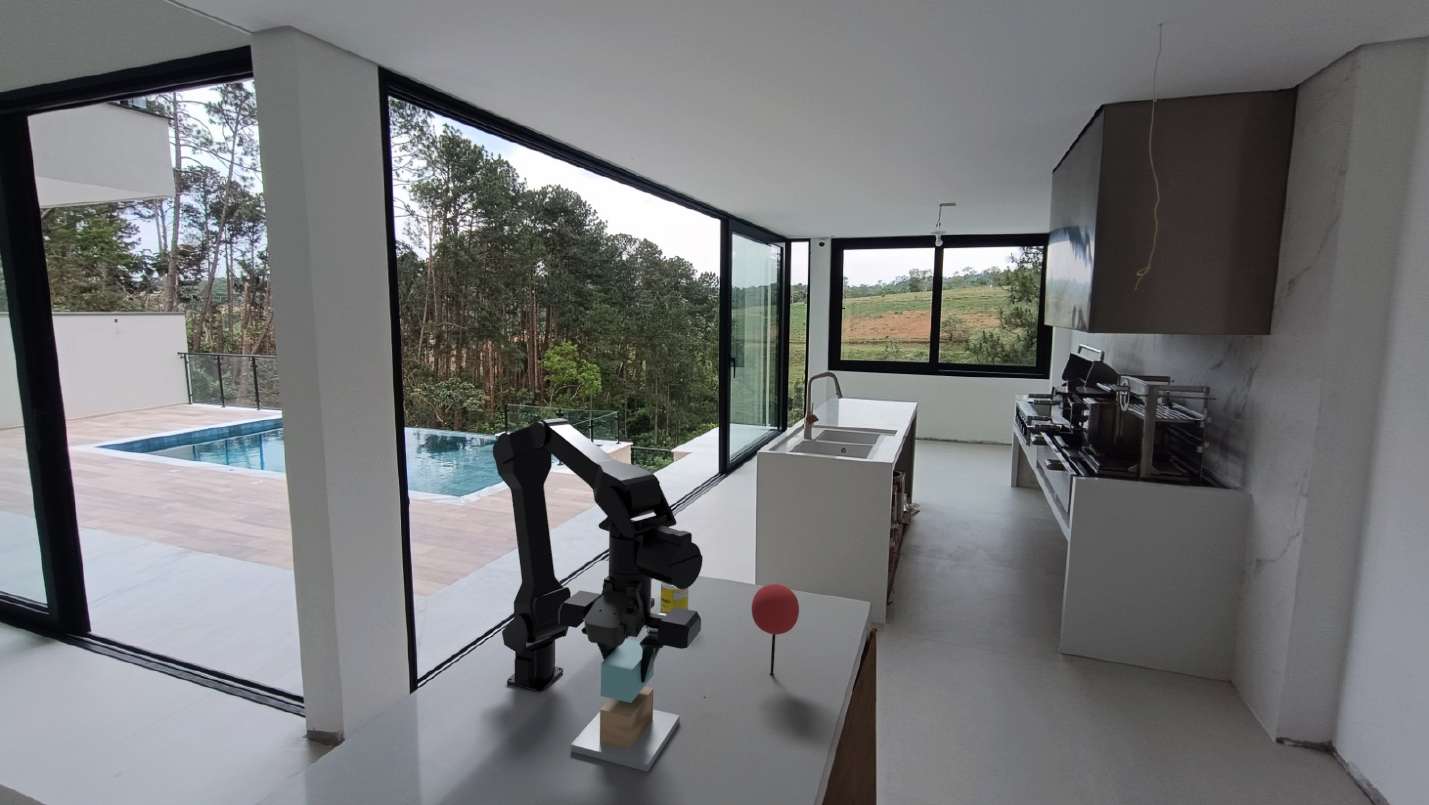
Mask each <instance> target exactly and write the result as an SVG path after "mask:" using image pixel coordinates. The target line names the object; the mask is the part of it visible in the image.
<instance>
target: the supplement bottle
mask: <svg viewBox="0 0 1429 805" xmlns="http://www.w3.org/2000/svg"><path fill="white" fill-rule="evenodd" d="M673 607H676V608H682V609H687V610H689V587H688V588H686V589H679V588H676V587H673V586H671V585H668V584H666V583H663V582H661V583H660V610H659V611H660V613H664V614H667V613H668V612H669V611H670V610H671V609H672V608H673Z"/></svg>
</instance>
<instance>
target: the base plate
mask: <svg viewBox="0 0 1429 805" xmlns="http://www.w3.org/2000/svg"><path fill="white" fill-rule="evenodd" d="M680 717H681V716H680V715H679V714H674V713H671V712H670V713H669V712H666V711H663V710H657V709H654V708H653V719H652V720H651V722H650V723H649V724H648V726H647V727H646V728H645V730H644V731H643V732H642V734H641V735H640V736H639V738H638V739H637V740H636V742H635V743H634V744H633V746H632V747H631V748H630V750H629V749H626V748H622V747H618V746H615V745H611V744H607V743H603V742H600V711H599V712H598V713H597V714H596V715H595V716H594V718H592V720H591V721H590V722H589V723H588V724H587V726H586V727H585V728H584V729H583V730H582V731H581V732H580V733H579V735H578V736H577V737H576V738H575V739H574V740H573V741H572V742H571V743H570V752H571V753H575V754H579V755H584V756H586V757H590V758H594V759H599V760H601V761H606V762H610V763H612V764H616V765H620V766H624V767H628V768H632V769H635V770H639V771H643V772H647V773H648V772H649V771H650V769H651V768H652V767H653V764H654V763H655V761H656V759H657V758H658V757H659V755H660V753H661V752H662V750H663V749H664V748H665V746H666V744H667V742H668V741H669V740H670V738H671V736H672V735H673V734H674V732H675V729H676V728H677V727H678V726H679V724H680V719H681V718H680Z"/></svg>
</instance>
